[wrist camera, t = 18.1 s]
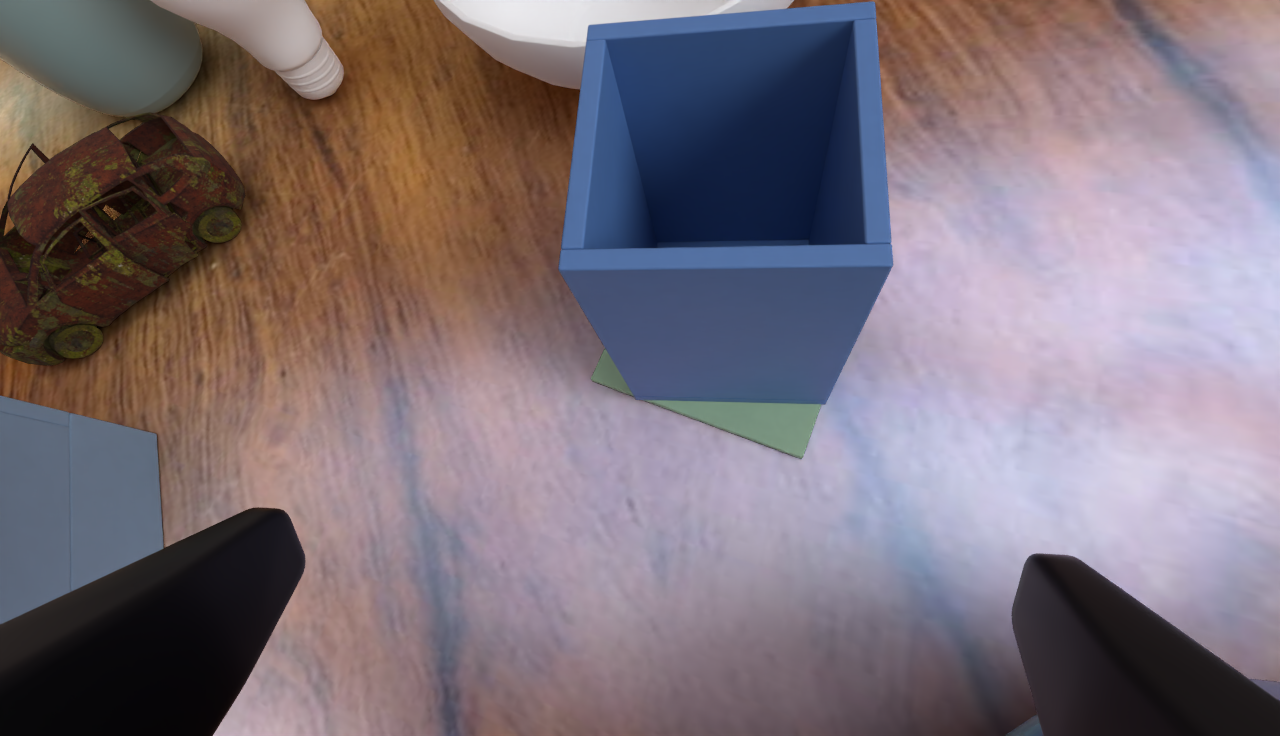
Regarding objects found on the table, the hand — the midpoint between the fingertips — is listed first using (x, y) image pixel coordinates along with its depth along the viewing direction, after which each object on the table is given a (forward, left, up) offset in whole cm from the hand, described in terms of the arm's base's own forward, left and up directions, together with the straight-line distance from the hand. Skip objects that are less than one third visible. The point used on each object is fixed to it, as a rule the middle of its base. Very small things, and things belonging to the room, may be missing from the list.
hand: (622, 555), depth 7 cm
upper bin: (+9, +2, -13) cm, 16 cm away
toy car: (+3, +29, -14) cm, 32 cm away
